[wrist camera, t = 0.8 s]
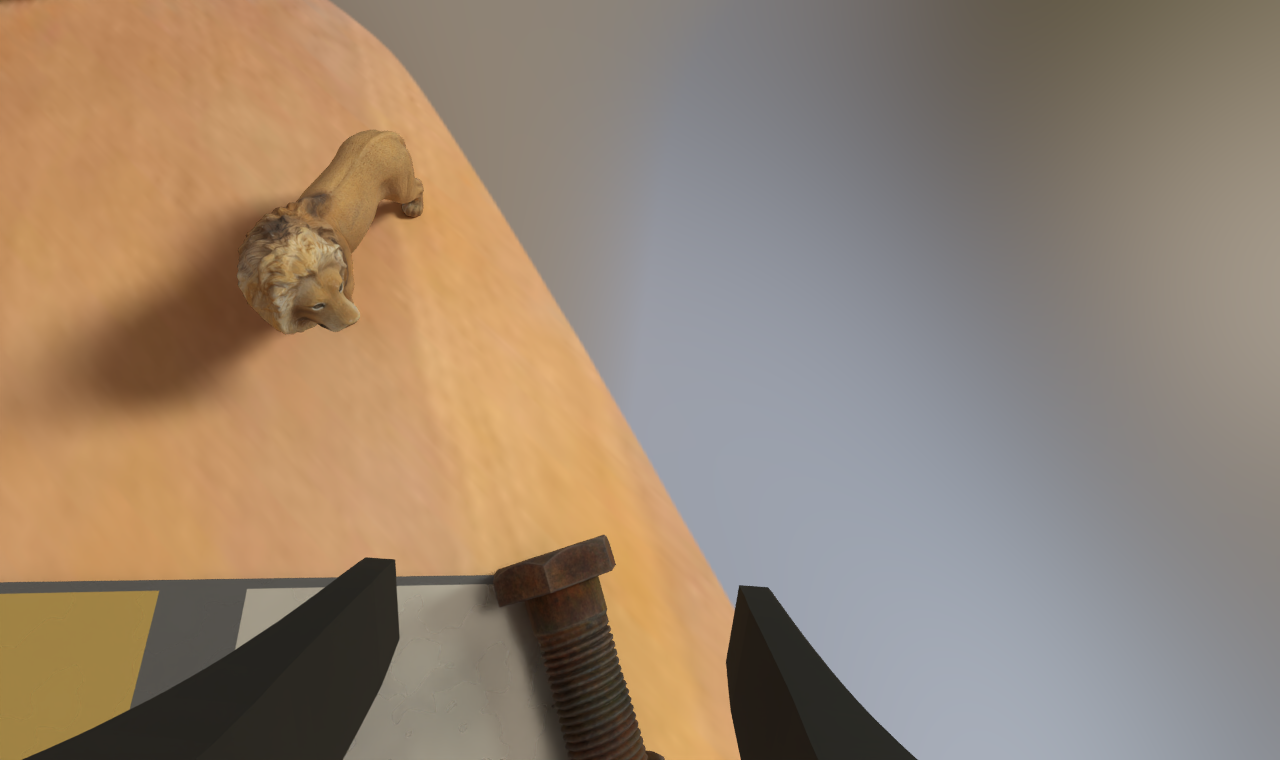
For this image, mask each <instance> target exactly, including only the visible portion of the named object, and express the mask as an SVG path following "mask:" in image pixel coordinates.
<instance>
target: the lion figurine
mask: <svg viewBox="0 0 1280 760" xmlns="http://www.w3.org/2000/svg"><path fill="white" fill-rule="evenodd" d="M423 191H424V188H423V184H422V182H421V180H420V179H418V178H415V177H414V169H413V164H412V159H411V156H410V153H409V151H408V150H407V149H406V145H405V142H404V139H403V138H402V137H401V136H400V135H399V134H398V133H395V132H391V131H382V132H380V131H377V130H368V131H363V132H360V133H357V134H355V135H353V136H351V137H349V138H348V139H347V140H346V141H345V142H343V144H342V145H341V146H340V148H339V150H338V152H337V154H336V156H335V157H334V159H333V160H332V162H331V163H330V165H329V166H328V167H327V168H326V169H325V170H324V171H323V172H322V173H321V175H320V176H319V177H318V178H317V179H316V180H315V181H314V182H313V183H312V184H311V185H310V186H309V187H308V188H307V189H306V190H305V191H304V193H303V194H302V195H301V196H300V198H299V199H298V200H297V201H296V202H295V203H289V204H288V205H287V207H285V208H283V207H279V208H276V209H275V210H273V212H272V214H266V215H264V217H263V218H262V219H261V220H260V221H258V222H257V223H256V225H255V227H254V228H253V229H252V231H250V232H248V233H247V235H246V239H245V240H244V243H243V244H242V245H241V246H240V247H239V249H238V252H239V254H240V257H239V264H238V273H237V278H238V280H239V282H238V287H239V288H240V289H241V290H242V292H243V295H244V297H245V298H246V299H247V302H248V304H249V305H250V306H251V307H252V308H253V309H254V310H255V311H256V312H258V313H259V314H260V316H261V317H262V318H263V319H264V320H265V321H267V322H268V323H269V324H270V325H271V326H273V327H274V328H275V329H276V330H278V331H280V332H282V333H284V334H295V333H296V332H304V331H305V330H307V329H310V328H312V327H315V326H316V325H317V324H318V325H320V326H322V327H324V328H326V329H328V330H330V331H333V332H339V331H340V330H342V329H344V328H346V327H347V326H350V325H352V324H354V323H356V322H357V320H358V319H359V318H360V312H359V311H358V309H357V307H356V306H355V305H354V302H353V300H352V294H353V290H354V278H353V262H352V255H351V253H352V252H353V251H354V250H355V249H356V248H357V246H358V245H359V244H360V242H361V241H362V239H363V237H364V236H365V234H366V232H367V231H368V229H369V227H370V225H371V223H372V221H373V219H374V217H375V214H376V210H377V207H378V204H379V202H380V201H381V200H383V199H387V200H391V201H393V202H397V203H402V210H403V211H404V213H405V214H406V215H407V216H412V217H417V216H420V215H421V214H422V212H423Z"/></svg>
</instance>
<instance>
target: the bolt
mask: <svg viewBox="0 0 1280 760" xmlns="http://www.w3.org/2000/svg"><path fill="white" fill-rule="evenodd" d="M615 565H616V564H615V560H614V557H613V554H612V550H611V547H610V544H609V541H608V539H607V537H606V536H605V535H602V536H599V537H595V538H592V539H589V540H586V541H583V542H580V543H577V544H574V545H571V546H568V547H565V548H562V549H559V550H556V551H553V552H550V553H547V554H544V555H541V556H537V557H534V558H531V559H528V560H525V561H522V562H519V563H516V564H513V565H510V566H508V567H505V568H502V569H498V570H497V572H496V573H495V576H494V579H493V584H494V588H495V592H496V596H497V600H498V604H499V607H500V608H501V607H504V606H508V605H511V604H515V603H518V602H522V601H525V604H526V608H527V611H528V615H529V619H530V622H531V626H532V630H533V633H534V636H535V637H536V638H537V640H538V642H539V644H540V645H541V646H540V648H539V649H540V650H541V651H544V652H545V653H543V654H542V658H543V659H546V660H547V661H546V662H544V666H545V667H548V669H547V671H546V673H547V675H550V677H549V679H548V682H549V683H552V685H551V686H550V689H551V691H552V692H554V693H553V695H552V698H553V699H554V700H555V701H556V702H555V705H554V706H555V707H556V709H558V710H557V713H556V714H557V715H558V716H559V717H560V718H559V723H560V724H562V727H561V731H562V733H565V734H564V736H563V739H564V741H566V746H565V748H566V749H568V750H569V752H568V757H569V758H571V760H665V759H664V757H663V756H661V755H659V754H657V753H655V752H652V751H645V746H644V745H643V738H642V737H641V736H640V734H641V731H640V729H639V728H637V727H638V722H637V720H635V717H636V714H635V713H634V712H633V708H634V707H633V705H632V704H631V703H630V702H631V697H630V696H629V695H628V693H629V690H628V689H627V688H626V684H627V683H626V681H625V680H623V678H624V676H623V673H622V672H620V671H621V666H620V665H619V664H618V663H619V658H618V657H617V656H616V655H617V650H616V649H614V647H615V642H614V641H611V640H612V639H613V634H611V633H609V632H610V631H611V628H610V626H608V625H607V624H608V622H609V621H608V617H607V614H606V611H607V607H606V603H605V599H604V596H603V592H602V588H601V585H600V581H599V577H598V576H599V575H602V574H604V573H607V572H609V571H612V569H613V568H614V566H615Z"/></svg>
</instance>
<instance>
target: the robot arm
mask: <svg viewBox="0 0 1280 760" xmlns="http://www.w3.org/2000/svg"><path fill="white" fill-rule="evenodd" d="M399 639H400V634H399V617H398V601H397V584H396V567H395V560H393V559H379V558H364V559H363V560H361V561H360V562H358V563H357V564H356V565H354V566H353V567H352V568H350V569H349V570H347V571H346V572H345V573H343V574H342V575H341V576H339V577H338V578H337V579H335V580H334V581H333V582H331V583H330V584H329V585H327V586H326V587H325V588H323V589H322V590H321V591H319V592H318V593H317V594H315V595H314V596H312V597H311V598H310V599H308V600H307V601H306V602H304V603H303V604H301V605H300V606H299V607H297V608H296V609H294V610H293V611H292V612H290V613H289V614H288V615H286V616H285V617H283V618H282V619H281V620H279V621H278V622H276V623H275V624H273V625H272V626H270V627H269V628H267V629H266V630H264V631H263V632H261V633H260V634H258V635H257V636H255V637H254V638H252V639H251V640H249V641H248V642H246V643H245V644H243V645H242V646H240V647H239V648H237V649H236V650H234V651H233V652H231V653H230V654H228V655H226V656H225V657H223V658H222V659H220V660H218V661H217V662H215V663H213V664H212V665H210V666H208V667H207V668H205V669H203V670H202V671H200V672H198V673H197V674H195V675H193V676H191V677H190V678H188V679H186V680H184V681H182V682H181V683H179V684H177V685H175V686H174V687H172V688H170V689H168V690H167V691H165V692H163V693H161V694H159V695H157V696H155V697H154V698H152V699H150V700H148V701H146V702H144V703H142V704H140V705H138V706H136V707H134V708H132V709H130V710H128V711H126V712H124V713H122V714H120V715H118V716H116V717H114V718H112V719H110V720H108V721H106V722H104V723H102V724H100V725H98V726H96V727H94V728H92V729H90V730H88V731H85V732H83V733H81V734H79V735H77V736H74V737H72V738H70V739H68V740H66V741H63V742H61V743H59V744H57V745H55V746H52V747H50V748H48V749H46V750H43V751H41V752H39V753H36V754H34V755H31V756H29V757H27V758H24V759H22V760H343V759H344V757H345V755H346V753H347V751H348V749H349V747H350V745H351V744H352V742H353V740H354V738H355V736H356V734H357V732H358V730H359V729H360V727H361V725H362V723H363V721H364V719H365V717H366V715H367V713H368V711H369V709H370V708H371V706H372V704H373V702H374V700H375V698H376V696H377V694H378V692H379V690H380V688H381V686H382V683H383V681H384V678H385V676H386V673H387V671H388V668H389V666H390V663H391V661H392V658H393V655H394V653H395V650H396V647H397V644H398V642H399ZM726 666H727V677H728V689H729V698H730V708H731V714H732V719H733V724H734V729H735V733H736V738H737V743H738V748H739V753H740V757H741V760H917V759H916V758H915V757H914V756H913V755H912V754H910V752H908V751H907V750H906V749H905V748H904V747H903V746H902V745H901V744H900V743H899V742H898V741H897V740H896V739H895V738H894V737H893V736H891V734H890V733H888V731H886V730H885V729H884V728H883V727H882V726H881V725H880V724H879V723H878V722H877V721H876V720H875V719H874V718H873V717H872V716H871V715H870V714H869V713H868V712H867V711H866V709H864V707H863V706H862V705H861V704H860V703H859V702H858V701H857V700H856V699H855V698H854V696H853V695H852V694H851V693H850V692H849V691H848V690H847V689H846V688H845V686H844V685H843V684H842V683H841V682H840V680H839V679H838V678H837V677H836V676H835V675H834V673H833V672H832V671H831V670H830V669H829V667H828V666H827V665H826V663H825V662H824V661H823V660H822V658H821V657H820V656H819V655H818V654H817V652H816V651H815V650H814V649H813V647H812V646H811V645H810V643H809V642H808V641H807V640H806V638H805V637H804V635H803V634H802V633H801V632H800V630H799V629H798V627H797V626H796V625H795V623H794V622H793V621H792V619H791V618H790V617H789V615H788V614H787V612H786V611H785V610H784V608H783V607H782V606H781V604H780V603H779V601H778V600H777V599H776V597H775V596H774V594H773V593H772V592H771V590H770V589H769V588H768V587H754V586H741V585H740V586H739V590H738V597H737V602H736V607H735V613H734V619H733V625H732V630H731V636H730V642H729V648H728V653H727V659H726Z"/></svg>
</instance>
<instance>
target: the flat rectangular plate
mask: <svg viewBox="0 0 1280 760" xmlns="http://www.w3.org/2000/svg"><path fill="white" fill-rule="evenodd" d="M494 576H495V575H476V576H409V577H396V584H397V601H398V617H399V634H400V639H399V642H398V644H397V647H396V650H395V653H394V655H393V658H392V661H391V663H390V666H389V668H388V671H387V673H386V676H385V678H384V681H383V683H382V686H381V688H380V690H379V692H378V694H377V696H376V698H375V700H374V702H373V704H372V706H371V708H370V709H369V711H368V713H367V715H366V717H365V719H364V721H363V723H362V725H361V727H360V729H359V730H358V732H357V734H356V736H355V738H354V740H353V742H352V744H351V745H350V747H349V749H348V751H347V753H346V755H345V757H344V759H343V760H571V758H569V757H568V752H569V750H568V749H566V748H565V746H566V741H564V739H563V736H564V734H565V733H562V731H561V727H562V724H560V723H559V718H560V717H559V716H558V715H557V714H556V713H557V710H558V709H556V707H555V706H554V705H555V702H556V701H555V700H554V699H553V698H552V695H553V693H554V692H552V691H551V689H550V686H551V685H552V683H549V682H548V679H549V677H550V675H547V673H546V671H547V669H548V667H545V666H544V662H546V661H547V660H546V659H543V658H542V654H543V653H545V652H544V651H541V650H540V649H539V648H540V646H541V645H540V644H539V642H538V640H537V638H536V637H535V636H534V633H533V630H532V626H531V622H530V619H529V615H528V611H527V608H526V604H525V601H522V602H518V603H515V604H511V605H508V606H504V607H501V608H500V607H499V604H498V600H497V596H496V592H495V588H494V584H493V579H494ZM335 579H337V578H274V579H206V580H139V581H71V582H4V583H0V760H22V759H24V758H27V757H29V756H31V755H34V754H36V753H39V752H41V751H43V750H46V749H48V748H50V747H52V746H55V745H57V744H59V743H61V742H63V741H66V740H68V739H70V738H72V737H74V736H77V735H79V734H81V733H83V732H85V731H88V730H90V729H92V728H94V727H96V726H98V725H100V724H102V723H104V722H106V721H108V720H110V719H112V718H114V717H116V716H118V715H120V714H122V713H124V712H126V711H128V710H130V709H132V708H134V707H136V706H138V705H140V704H142V703H144V702H146V701H148V700H150V699H152V698H154V697H155V696H157V695H159V694H161V693H163V692H165V691H167V690H168V689H170V688H172V687H174V686H175V685H177V684H179V683H181V682H182V681H184V680H186V679H188V678H190V677H191V676H193V675H195V674H197V673H198V672H200V671H202V670H203V669H205V668H207V667H208V666H210V665H212V664H213V663H215V662H217V661H218V660H220V659H222V658H223V657H225V656H226V655H228V654H230V653H231V652H233V651H234V650H236V649H237V648H239V647H240V646H242V645H243V644H245V643H246V642H248V641H249V640H251V639H252V638H254V637H255V636H257V635H258V634H260V633H261V632H263V631H264V630H266V629H267V628H269V627H270V626H272V625H273V624H275V623H276V622H278V621H279V620H281V619H282V618H283V617H285V616H286V615H288V614H289V613H290V612H292V611H293V610H294V609H296V608H297V607H299V606H300V605H301V604H303V603H304V602H306V601H307V600H308V599H310V598H311V597H312V596H314V595H315V594H317V593H318V592H319V591H321V590H322V589H323V588H325V587H326V586H327V585H329V584H330V583H331V582H333V581H334V580H335Z"/></svg>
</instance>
